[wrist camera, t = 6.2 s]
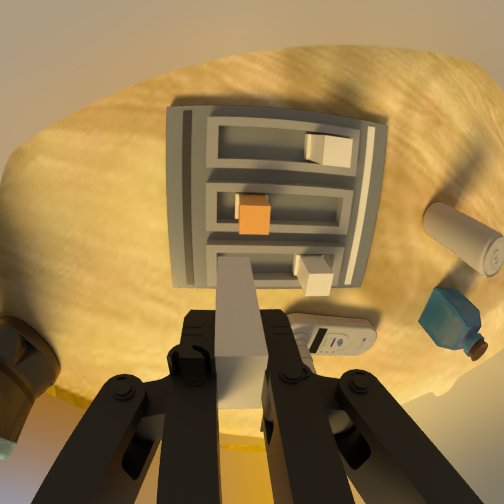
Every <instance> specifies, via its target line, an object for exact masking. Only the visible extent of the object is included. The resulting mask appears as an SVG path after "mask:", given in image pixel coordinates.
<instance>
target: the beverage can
mask: <svg viewBox="0 0 504 504" xmlns="http://www.w3.org/2000/svg"><path fill="white" fill-rule="evenodd" d="M423 229H424V232H425V233H426V234H427V235H428V236H430V237H431V238H433V239H434V240H436V241H437V242H438V243H440V244H441V245H443V246H444V247H446V248H447V249H449V250H450V251H451V252H453V253H454V254H455V255H457V256H458V257H459V258H461V259H462V260H463V261H464V262H466V263H467V264H468V265H469V266H471V267H472V268H473V269H475V270H476V271H477V272H478V273H480V274H481V275H483V276H486V277H487V278H492V277H494V276H496V275H497V274H498V273H499V271H500V270H501V269H502V267H503V265H504V237H503V235H502V234H501V233H499V232H497V231H495V230H494V229H492V228H490V227H488V226H487V225H485V224H483V223H481V222H479V221H477V220H475V219H474V218H472V217H470V216H468V215H466V214H464V213H462V212H460V211H458V210H456V209H454V208H452V207H450V206H448V205H446V204H444V203H441V202H436V203H433V204H432V205H430V206H429V207H428V208H427V210H426V211H425V213H424V216H423Z"/></svg>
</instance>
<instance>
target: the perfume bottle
mask: <svg viewBox="0 0 504 504" xmlns="http://www.w3.org/2000/svg"><path fill="white" fill-rule="evenodd" d="M418 322H419V323H420V325H421V326H422V327H423V328H424V330H425V331H426V332H427V333H428V335H429V336H430V337H431V338H432V340H433V341H434V342H435V344H436V345H437V346H439V347H443V348H447V349H451V350H458V349H464V352H465V354H466V355H467V356H470V357H471V359H472V361H476V360H477V359H479V358H480V357H481V356H482V355H483V354H484V352H485V351H486V349H487V347H488V344H487V343H486V342H485V341H484V338H483V336H482V335H481V334H480V333H478V331H479V329H480V328H481V319H480V313H479V310H478V309H477V308H476V307H475V306H474V305H473V304H472V303H471V302H470V301H469V300H468V299H467V298H466V297H465V296H464V295H463V294H462V293H460V292H459V291H458V290H455V289H441V288H434V289H433V292H432V294H431V296H430V298H429V300H428V303H427V305H426V307H425V309H424V311H423V313H422V315H421V317H420V319H419V321H418Z"/></svg>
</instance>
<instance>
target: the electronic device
mask: <svg viewBox="0 0 504 504" xmlns="http://www.w3.org/2000/svg"><path fill="white" fill-rule="evenodd" d="M287 316H288V319H289V322H290V325H291V328H292V331H293V335H294V337H295V340H296V343H297V346H298V349H299V352H300V355H301V359H302V361H303V363H304V364H305V365H307V366H308V367H309V368H310V369H311V371H312V372H313V373H315V374H317V373H316V370H315V368H314V365H313V359H312V356H311V355H322V356H357V355H360V354H363V353H365V352H366V351H368V350H369V349H370V348H371V347H372V346H373V344H374V343H375V341H376V338H377V332H376V330H375V329H374V327H373V326H372V324H371V323H370V322H369V321H368V320H366V319H357V318H345V317H333V316H323V315H313V314H303V313H291V314H288V315H287Z"/></svg>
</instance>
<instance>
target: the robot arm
mask: <svg viewBox="0 0 504 504" xmlns="http://www.w3.org/2000/svg"><path fill="white" fill-rule="evenodd" d="M181 335H182V336H181V340H180V344H179V345H176V346H175V347H173V348H172V349H171V350H170V351H169V353H168V355H167V361H168V366H169V371H170V374H169V375H168V376H167V377H165V378H163V379H160V380H156V381H150V382H144V383H143V382H142V381H141V380H140V379H139V378H137V377H135V376H134V375H129V374H121V375H116V376H114V377H112V378H110V379H109V380H108V381H107V382H106V383H105V384H104V385H103V387H102V388H101V390H100V391H99V393H98V394H97V396H96V397H95V399H94V400H93V402H92V403H91V405H90V406H89V408H88V409H87V411H86V412H85V414H84V415H83V417H82V419H81V420H80V422H79V423H78V425H77V426H76V428H75V430H74V431H73V433H72V434H71V436H70V438H69V439H68V441H67V442H66V444H65V446H64V447H63V449H62V450H61V452H60V454H59V456H58V457H57V459H56V460H55V462H54V464H53V466H52V467H51V469H50V471H49V472H48V474H47V476H46V477H45V479H44V481H43V483H42V484H41V486H40V488H39V490H38V492H37V493H36V495H35V497H34V499H33V501H32V503H31V504H134V502H135V500H136V498H137V495H138V493H139V490H140V488H141V485H142V483H143V481H144V479H145V476H146V474H147V471H148V469H149V466H150V464H151V462H152V460H153V457H154V455H155V452H156V450H157V448H158V445H159V443H160V441H161V440H162V445H161V455H160V466H159V476H158V489H157V504H222V494H221V475H220V453H219V452H220V451H219V421H218V409H256V408H261V403H262V407H263V417H262V423H261V429H260V432H264V439H265V446H266V452H267V459H268V466H269V472H270V479H271V486H272V492H273V498H274V504H355V501H354V498H353V495H352V492H351V489H350V485H349V482H348V479H347V476H348V478H349V479H350V481H351V482H352V484H353V485H354V487H355V488H356V490H357V491H358V493H359V494H360V496H361V497H362V499H363V500H364V502H365V503H366V504H484V503H483V502H482V501H481V500H480V499H479V497H478V496H477V495H476V494H475V493H474V491H473V490H472V489H471V488H470V486H469V485H468V484H467V483H466V482H465V480H464V479H463V478H462V477H461V476H460V475H459V473H458V472H457V471H456V470H455V469H454V468H453V466H452V465H451V464H450V463H449V462H448V460H447V459H446V458H445V457H444V456H443V455H442V453H441V452H440V451H439V450H438V449H437V447H436V446H435V445H434V444H433V443H432V442H431V441H430V439H429V438H428V437H427V436H426V435H425V433H424V432H423V431H422V430H421V429H420V428H419V426H418V425H417V424H416V423H415V422H414V421H413V420H412V418H411V417H410V416H409V415H408V414H407V413H406V411H405V410H404V409H403V408H402V407H401V406H400V404H399V403H398V402H397V401H396V400H395V399H394V398H393V396H392V395H391V394H390V393H389V392H388V391H387V390H386V388H385V387H384V386H383V385H382V384H381V383H380V382H379V380H378V379H377V378H376V377H375V376H374V375H372V374H371V373H369V372H367V371H364V370H359V369H354V370H349V371H347V372H345V373H344V374H343V375H342V376H341V378H340V379H338V378H331V377H324V376H320V375H317V374H315V373H313V372H312V371H311V369H310V368H309V367H308V366H307V365H305V364H304V363H303V361H302V359H301V355H300V352H299V349H298V346H297V343H296V340H295V337H294V335H293V331H292V328H291V325H290V322H289V319H288V316H287V315H286V314H285V313H284V312H283V311H282V310H281V309H263V310H259V305H258V300H257V295H256V290H255V285H254V280H253V274H252V269H251V264H250V259H249V257H218V261H217V284H216V310H190V312H189V313H188V314H187V315H186V316H185V317H184V322H183V328H182V334H181ZM59 374H60V365H59V362H58V360H57V357H56V356H55V354H54V352H53V351H52V349H51V348H50V346H49V345H48V344H47V343H46V341H45V340H44V339H43V338H42V337H41V336H40V335H39V334H38V333H37V332H36V331H35V330H34V329H32V328H31V327H30V326H29V325H27V324H26V323H24V322H23V321H21V320H19V319H17V318H14V317H10V316H6V317H3V318H1V320H0V459H2V460H7V459H9V458H10V456H11V454H12V452H13V450H14V448H15V447H16V445H17V441H18V439H19V436H20V434H21V431H22V429H23V426H24V424H25V422H26V419H27V417H28V415H29V413H30V410H31V408H32V406H33V404H34V402H35V400H36V399H37V398H38V397H39V396H40V395H41V394H43V393H44V392H45V391H46V389H47V388H48V387H51V386H52V385H53V384H54V383H55V382H56V380H57V378H58V376H59Z"/></svg>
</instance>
